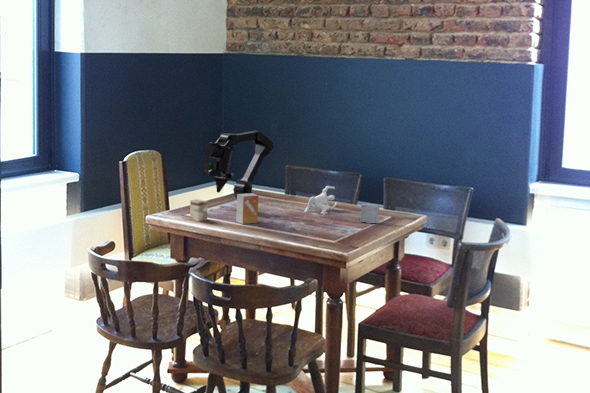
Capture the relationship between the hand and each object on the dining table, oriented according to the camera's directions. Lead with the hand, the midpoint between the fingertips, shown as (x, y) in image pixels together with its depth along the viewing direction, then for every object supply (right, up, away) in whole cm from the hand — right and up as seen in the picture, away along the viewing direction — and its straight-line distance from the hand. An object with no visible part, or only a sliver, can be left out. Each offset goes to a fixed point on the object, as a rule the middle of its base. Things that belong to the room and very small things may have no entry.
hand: (218, 192), depth 312 cm
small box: (+14, -14, -8) cm, 22 cm away
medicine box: (+72, -15, +1) cm, 73 cm away
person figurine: (+50, -10, +24) cm, 56 cm away
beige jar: (-8, -13, -6) cm, 16 cm away
